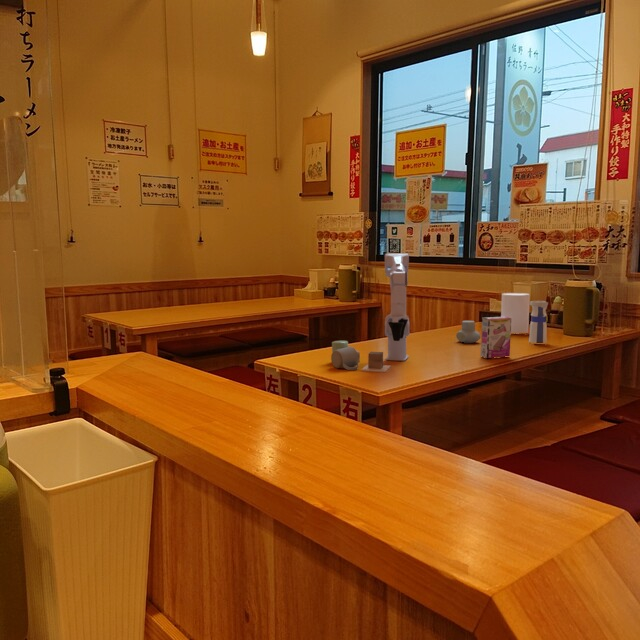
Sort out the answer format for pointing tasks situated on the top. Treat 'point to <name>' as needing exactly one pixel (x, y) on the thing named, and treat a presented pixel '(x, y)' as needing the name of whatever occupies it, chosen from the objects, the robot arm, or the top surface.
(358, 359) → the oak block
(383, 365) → the trivet
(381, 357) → the walnut block
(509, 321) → the candy bar box
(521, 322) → the canister
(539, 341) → the water bottle
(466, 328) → the air freshener
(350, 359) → the ceramic mug
